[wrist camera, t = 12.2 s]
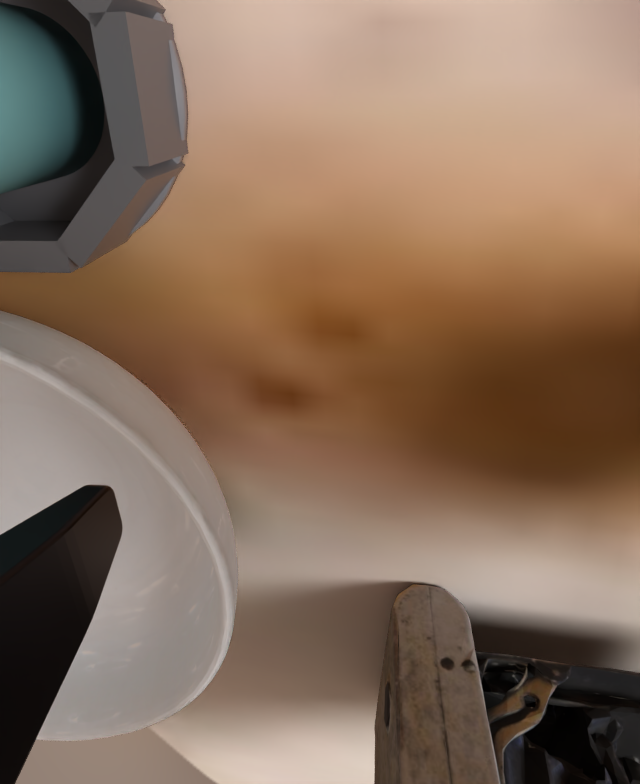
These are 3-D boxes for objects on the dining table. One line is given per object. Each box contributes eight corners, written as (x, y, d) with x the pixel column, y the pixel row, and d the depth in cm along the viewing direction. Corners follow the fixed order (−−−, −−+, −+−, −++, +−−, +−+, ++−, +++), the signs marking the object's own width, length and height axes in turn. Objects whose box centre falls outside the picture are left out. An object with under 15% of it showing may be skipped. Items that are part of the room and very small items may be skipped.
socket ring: (161, -119, 16) (106, -166, 13) (205, 251, 21) (172, 280, 18) (-170, -96, 17) (-293, -135, 14) (-54, 249, 22) (-127, 275, 19)
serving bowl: (175, 669, 33) (127, 798, 27) (-180, 514, 30) (-321, 621, 24) (351, 410, 23) (336, 523, 17) (-149, 145, 21) (-373, 171, 15)
